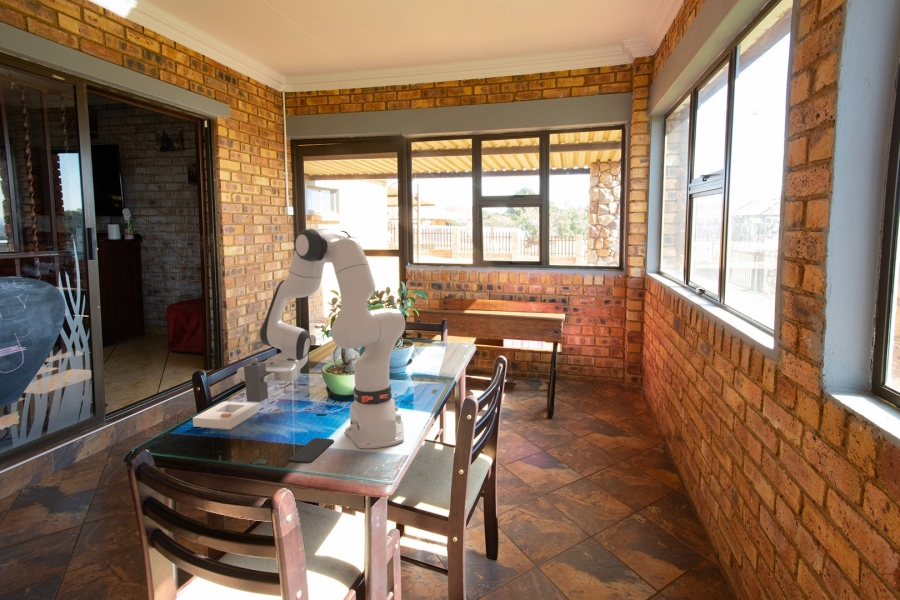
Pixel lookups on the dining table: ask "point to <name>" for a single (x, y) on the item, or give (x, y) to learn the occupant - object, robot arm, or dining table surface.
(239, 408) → the socket
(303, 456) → the phone
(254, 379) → the plug
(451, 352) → the dining table surface
